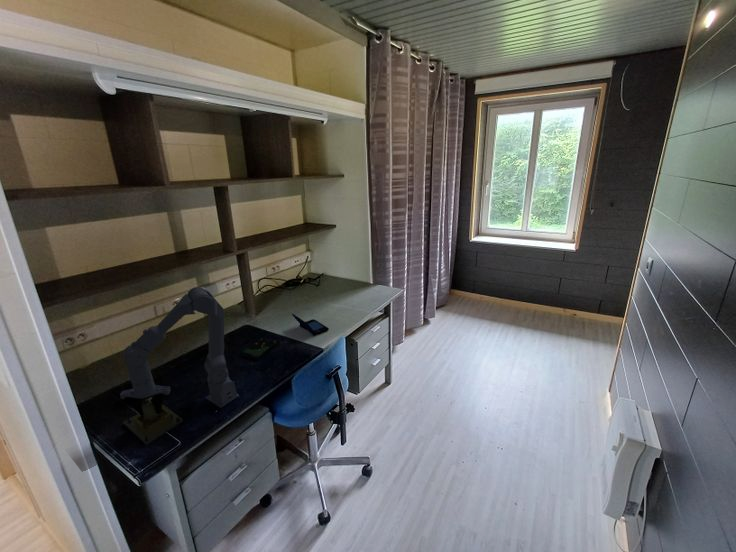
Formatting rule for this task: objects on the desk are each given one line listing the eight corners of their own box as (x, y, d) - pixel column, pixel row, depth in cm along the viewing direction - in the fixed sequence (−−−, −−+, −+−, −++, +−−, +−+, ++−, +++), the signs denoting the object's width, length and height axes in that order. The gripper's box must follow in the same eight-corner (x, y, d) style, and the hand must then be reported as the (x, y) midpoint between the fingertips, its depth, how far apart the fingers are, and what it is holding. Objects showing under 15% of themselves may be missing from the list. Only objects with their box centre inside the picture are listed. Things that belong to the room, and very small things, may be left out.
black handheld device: (329, 331, 175) (328, 315, 172) (307, 339, 167) (306, 323, 164) (313, 320, 186) (312, 305, 183) (292, 328, 178) (291, 313, 175)
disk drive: (262, 341, 166) (241, 356, 154) (262, 336, 166) (241, 351, 153) (279, 345, 163) (259, 361, 150) (279, 340, 162) (259, 356, 149)
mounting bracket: (183, 421, 115) (181, 413, 114) (146, 445, 106) (143, 436, 105) (159, 403, 124) (157, 396, 123) (123, 424, 114) (121, 416, 113)
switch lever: (164, 413, 116) (159, 395, 113) (155, 423, 111) (150, 405, 109) (151, 412, 116) (146, 395, 114) (142, 422, 112) (137, 404, 109)
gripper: (170, 369, 113) (178, 402, 117) (124, 373, 111) (134, 406, 116) (161, 382, 106) (170, 416, 111) (112, 387, 104) (123, 421, 109)
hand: (151, 412), depth 113 cm, fingers closed on switch lever, 5 cm apart
